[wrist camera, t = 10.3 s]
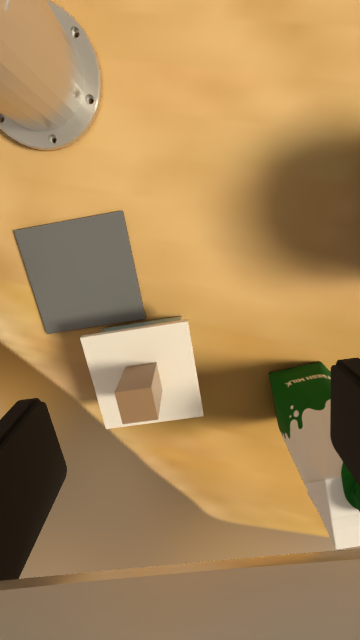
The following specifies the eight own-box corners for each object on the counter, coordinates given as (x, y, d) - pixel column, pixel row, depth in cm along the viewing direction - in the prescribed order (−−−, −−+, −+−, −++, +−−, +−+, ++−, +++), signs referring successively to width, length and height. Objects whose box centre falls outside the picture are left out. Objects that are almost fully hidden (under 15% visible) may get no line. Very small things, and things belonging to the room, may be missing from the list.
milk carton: (326, 353, 39) (460, 475, 20) (334, 411, 42) (459, 568, 22) (260, 368, 40) (327, 499, 21) (271, 424, 42) (341, 586, 23)
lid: (82, 335, 34) (59, 359, 28) (187, 319, 33) (187, 340, 27) (107, 424, 37) (92, 463, 31) (203, 412, 36) (206, 449, 30)
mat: (15, 230, 35) (13, 230, 35) (123, 210, 34) (122, 210, 34) (48, 332, 39) (46, 333, 39) (145, 317, 38) (145, 318, 38)
